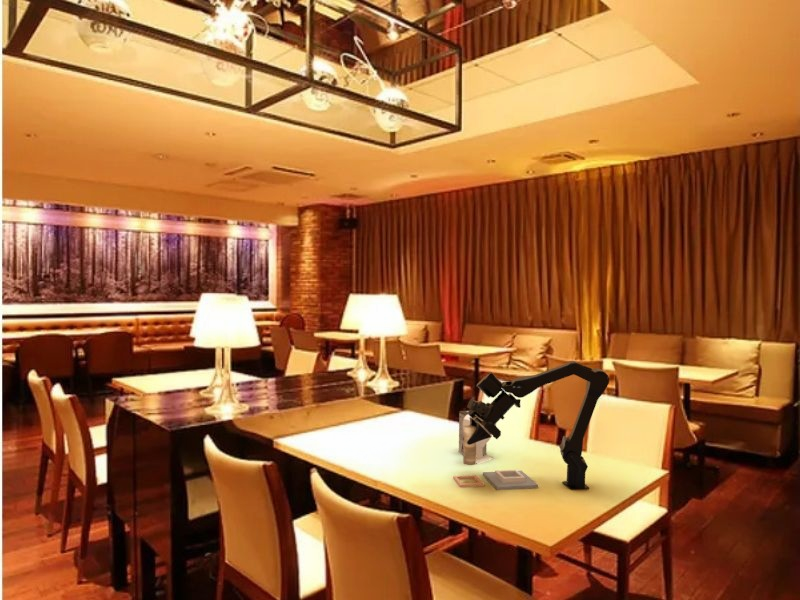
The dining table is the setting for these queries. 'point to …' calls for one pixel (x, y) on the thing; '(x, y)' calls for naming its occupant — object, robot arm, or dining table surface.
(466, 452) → the birch pin
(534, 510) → the dining table surface
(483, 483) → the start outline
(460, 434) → the coffee box
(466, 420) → the heart sculpture
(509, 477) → the board
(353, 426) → the dining table surface
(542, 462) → the dining table surface
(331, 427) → the dining table surface
